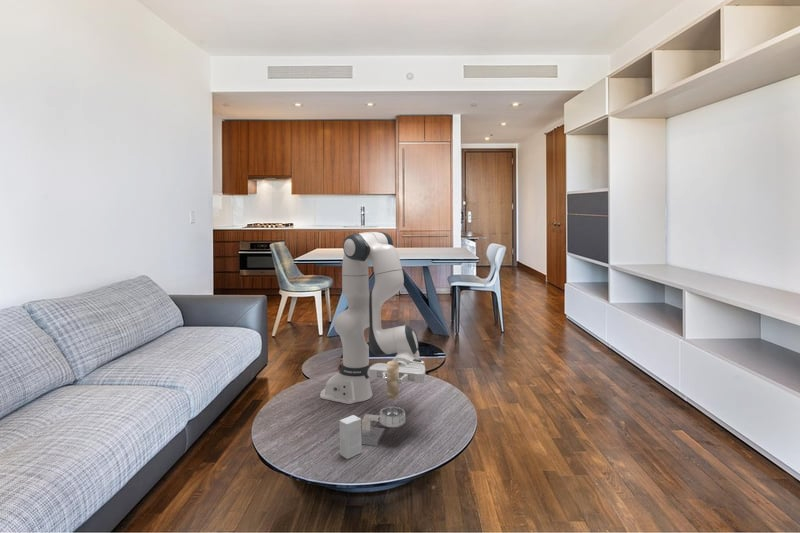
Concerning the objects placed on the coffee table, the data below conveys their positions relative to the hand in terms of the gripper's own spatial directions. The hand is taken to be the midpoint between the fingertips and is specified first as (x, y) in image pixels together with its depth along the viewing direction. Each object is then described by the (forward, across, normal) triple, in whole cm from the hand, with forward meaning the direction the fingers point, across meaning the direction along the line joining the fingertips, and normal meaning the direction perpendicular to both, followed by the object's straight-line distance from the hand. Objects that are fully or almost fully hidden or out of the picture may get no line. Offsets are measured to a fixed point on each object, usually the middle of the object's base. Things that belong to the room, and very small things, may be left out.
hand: (392, 380), depth 157 cm
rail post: (-1, 0, +6) cm, 6 cm away
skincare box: (+11, -11, +22) cm, 27 cm away
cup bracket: (-1, -5, +22) cm, 22 cm away
